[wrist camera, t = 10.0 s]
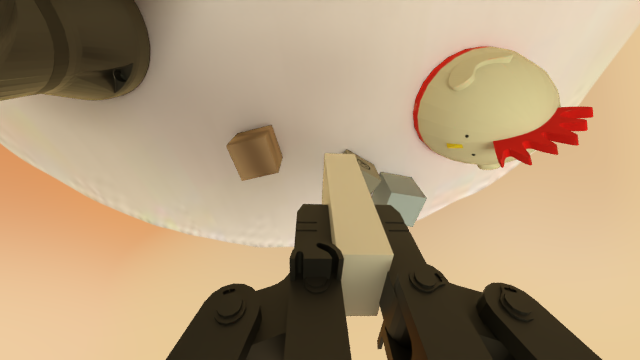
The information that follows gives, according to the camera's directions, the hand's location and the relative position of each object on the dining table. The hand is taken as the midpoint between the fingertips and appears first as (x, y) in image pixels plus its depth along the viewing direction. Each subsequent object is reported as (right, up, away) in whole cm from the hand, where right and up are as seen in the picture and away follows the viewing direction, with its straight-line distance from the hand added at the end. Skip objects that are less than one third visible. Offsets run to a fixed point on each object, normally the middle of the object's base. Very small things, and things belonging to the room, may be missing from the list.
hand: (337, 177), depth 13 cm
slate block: (+10, -1, +26) cm, 28 cm away
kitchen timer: (+19, +10, +20) cm, 29 cm away
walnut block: (-9, +5, +22) cm, 25 cm away
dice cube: (+4, +2, +24) cm, 25 cm away
